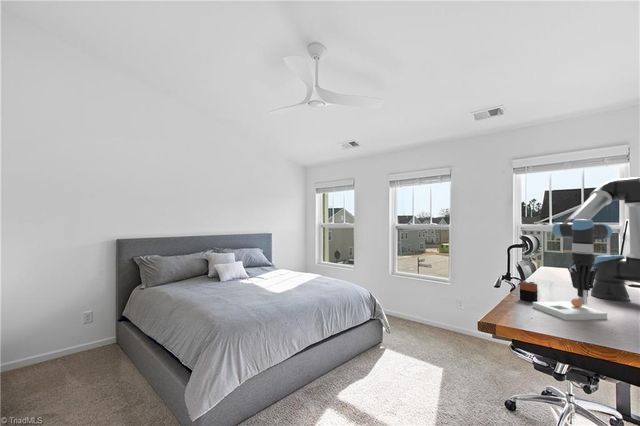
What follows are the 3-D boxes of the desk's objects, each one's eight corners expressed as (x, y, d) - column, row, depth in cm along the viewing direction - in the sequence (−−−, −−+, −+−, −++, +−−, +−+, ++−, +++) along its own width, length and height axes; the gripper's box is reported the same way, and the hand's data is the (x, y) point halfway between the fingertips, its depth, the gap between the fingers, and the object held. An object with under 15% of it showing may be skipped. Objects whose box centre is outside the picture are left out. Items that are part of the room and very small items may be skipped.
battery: (534, 302, 152) (534, 283, 152) (519, 299, 157) (519, 280, 157) (537, 301, 154) (537, 282, 154) (522, 298, 160) (522, 279, 160)
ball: (578, 302, 139) (573, 295, 138) (586, 304, 135) (581, 297, 134) (572, 307, 138) (567, 300, 138) (580, 310, 134) (575, 303, 134)
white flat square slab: (568, 306, 146) (568, 301, 146) (607, 319, 128) (607, 313, 128) (532, 307, 144) (532, 302, 144) (566, 320, 126) (566, 314, 126)
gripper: (587, 251, 141) (587, 301, 141) (562, 251, 140) (562, 301, 140) (603, 253, 134) (604, 306, 133) (577, 253, 133) (577, 306, 132)
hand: (582, 303), depth 136 cm, fingers closed
